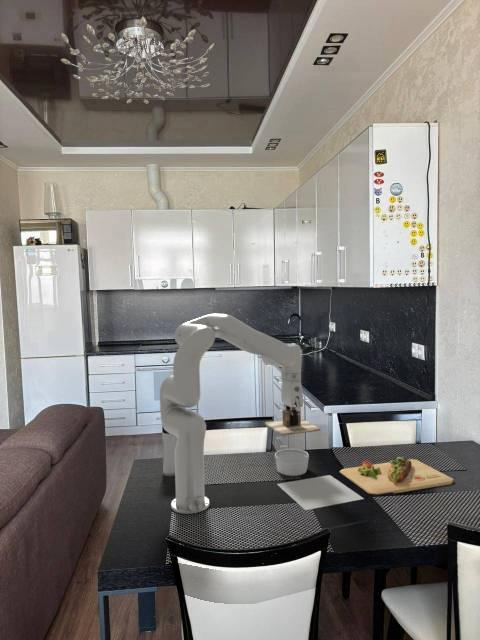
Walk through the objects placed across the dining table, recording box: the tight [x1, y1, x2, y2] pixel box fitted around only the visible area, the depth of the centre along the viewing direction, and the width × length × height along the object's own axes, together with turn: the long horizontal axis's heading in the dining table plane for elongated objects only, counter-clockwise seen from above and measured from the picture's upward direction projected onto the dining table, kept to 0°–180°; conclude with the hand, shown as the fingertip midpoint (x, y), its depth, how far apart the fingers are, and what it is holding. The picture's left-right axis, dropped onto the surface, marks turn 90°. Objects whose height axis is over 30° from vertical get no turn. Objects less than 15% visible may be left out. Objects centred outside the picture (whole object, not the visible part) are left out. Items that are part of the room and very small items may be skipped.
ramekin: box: [274, 448, 310, 477], centre depth 186 cm, size 13×13×7 cm
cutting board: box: [338, 456, 454, 496], centre depth 179 cm, size 35×23×8 cm
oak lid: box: [264, 408, 321, 436], centre depth 185 cm, size 16×16×7 cm
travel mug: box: [161, 425, 178, 477], centre depth 186 cm, size 6×7×20 cm
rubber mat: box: [276, 474, 365, 511], centre depth 166 cm, size 22×22×1 cm
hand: (291, 423), depth 185 cm, fingers closed on oak lid, 3 cm apart
